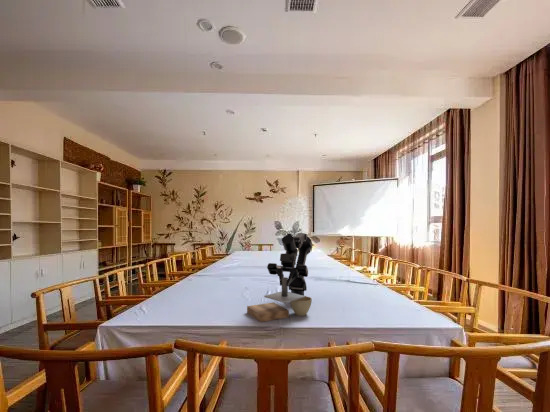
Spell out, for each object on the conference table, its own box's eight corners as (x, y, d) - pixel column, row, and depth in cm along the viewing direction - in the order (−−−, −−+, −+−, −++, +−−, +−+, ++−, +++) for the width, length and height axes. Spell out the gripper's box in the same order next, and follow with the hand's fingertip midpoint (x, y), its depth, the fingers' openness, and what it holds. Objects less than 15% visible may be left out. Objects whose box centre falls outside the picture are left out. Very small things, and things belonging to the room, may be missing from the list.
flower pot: (310, 318, 126) (310, 301, 126) (288, 316, 128) (288, 300, 128) (312, 311, 136) (312, 296, 136) (291, 310, 138) (291, 294, 138)
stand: (273, 308, 140) (273, 302, 140) (288, 317, 128) (288, 310, 128) (247, 312, 133) (247, 306, 133) (260, 322, 121) (260, 314, 121)
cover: (284, 292, 140) (284, 274, 140) (305, 297, 130) (305, 278, 131) (264, 297, 130) (264, 277, 131) (285, 303, 121) (285, 282, 122)
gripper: (268, 246, 138) (259, 273, 127) (306, 247, 132) (301, 276, 121) (273, 260, 145) (265, 287, 134) (310, 262, 139) (305, 290, 128)
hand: (283, 285), depth 129 cm, fingers closed on cover, 3 cm apart
